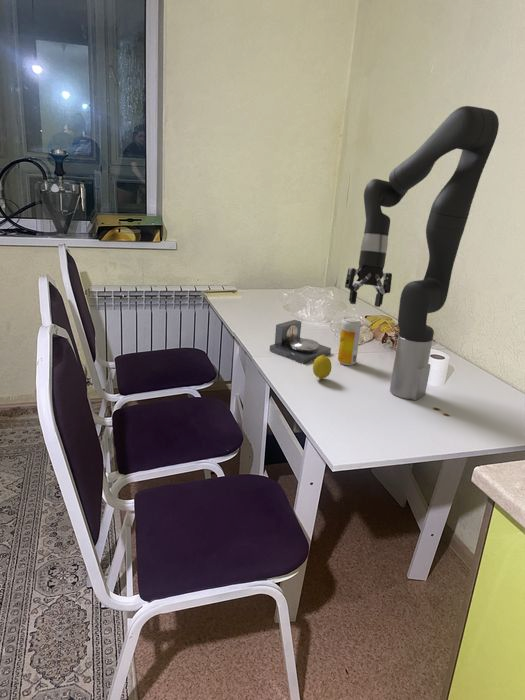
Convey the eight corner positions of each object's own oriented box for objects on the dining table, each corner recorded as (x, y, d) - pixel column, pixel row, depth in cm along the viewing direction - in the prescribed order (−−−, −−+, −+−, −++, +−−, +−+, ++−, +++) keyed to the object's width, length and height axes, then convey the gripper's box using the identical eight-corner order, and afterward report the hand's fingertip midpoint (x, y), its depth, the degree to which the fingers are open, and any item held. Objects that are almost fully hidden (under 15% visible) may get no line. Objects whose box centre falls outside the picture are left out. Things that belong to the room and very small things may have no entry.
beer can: (343, 357, 168) (348, 315, 163) (359, 362, 164) (364, 319, 159) (334, 362, 163) (339, 319, 158) (350, 367, 160) (355, 323, 155)
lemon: (329, 384, 147) (332, 359, 144) (310, 381, 148) (313, 356, 145) (330, 377, 152) (333, 352, 149) (312, 374, 153) (315, 350, 150)
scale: (330, 353, 171) (333, 328, 168) (303, 363, 161) (305, 337, 158) (297, 341, 181) (299, 318, 177) (269, 350, 170) (271, 326, 167)
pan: (324, 346, 169) (324, 344, 169) (306, 353, 162) (306, 350, 162) (302, 339, 175) (302, 336, 175) (283, 345, 168) (283, 342, 168)
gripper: (358, 247, 140) (350, 304, 142) (401, 253, 145) (392, 308, 147) (346, 247, 147) (338, 301, 149) (387, 253, 152) (378, 306, 154)
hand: (365, 305), depth 148 cm, fingers open, 8 cm apart
